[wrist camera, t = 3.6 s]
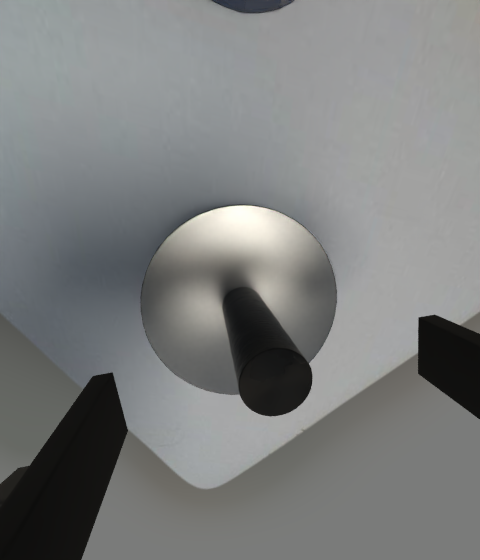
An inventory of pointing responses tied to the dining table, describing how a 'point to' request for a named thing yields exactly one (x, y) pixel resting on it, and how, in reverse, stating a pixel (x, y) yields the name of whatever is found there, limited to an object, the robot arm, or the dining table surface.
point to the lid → (241, 305)
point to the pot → (253, 5)
